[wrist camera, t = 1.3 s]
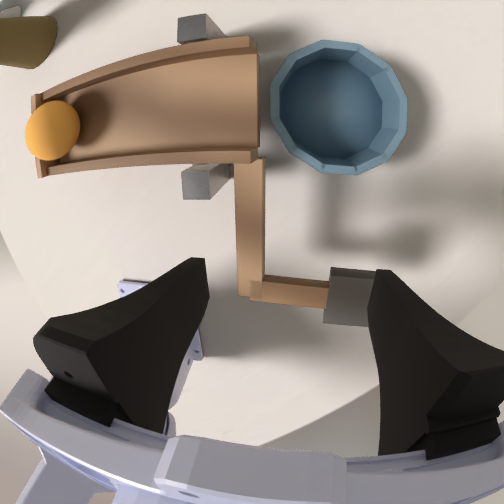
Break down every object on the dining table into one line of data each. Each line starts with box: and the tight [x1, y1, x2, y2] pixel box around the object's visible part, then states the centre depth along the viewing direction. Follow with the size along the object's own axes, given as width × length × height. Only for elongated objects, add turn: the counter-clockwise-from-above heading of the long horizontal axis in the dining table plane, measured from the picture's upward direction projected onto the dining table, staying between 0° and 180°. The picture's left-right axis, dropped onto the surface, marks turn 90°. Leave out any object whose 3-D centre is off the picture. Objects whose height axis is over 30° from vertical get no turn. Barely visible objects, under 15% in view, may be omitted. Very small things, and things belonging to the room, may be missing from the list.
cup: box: [270, 40, 407, 175], centre depth 15 cm, size 8×8×4 cm
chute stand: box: [177, 14, 230, 200], centre depth 16 cm, size 11×2×6 cm, turn 0°
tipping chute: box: [31, 36, 376, 327], centre depth 15 cm, size 16×23×3 cm
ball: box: [25, 101, 80, 160], centre depth 13 cm, size 4×4×4 cm
